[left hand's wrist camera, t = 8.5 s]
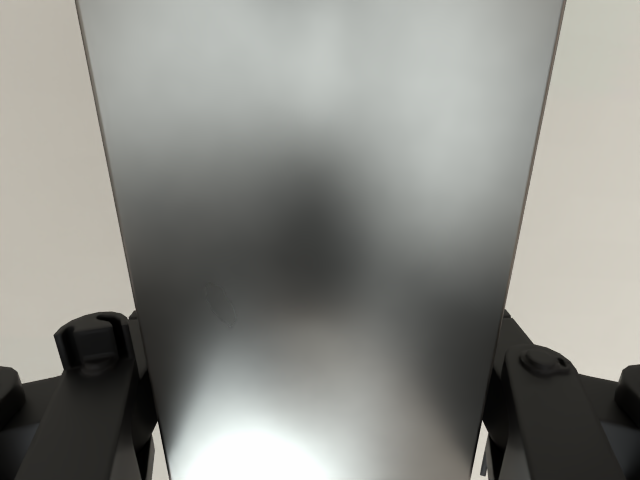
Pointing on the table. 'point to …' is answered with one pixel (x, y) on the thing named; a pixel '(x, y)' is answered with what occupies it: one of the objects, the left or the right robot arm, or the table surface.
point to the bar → (320, 220)
